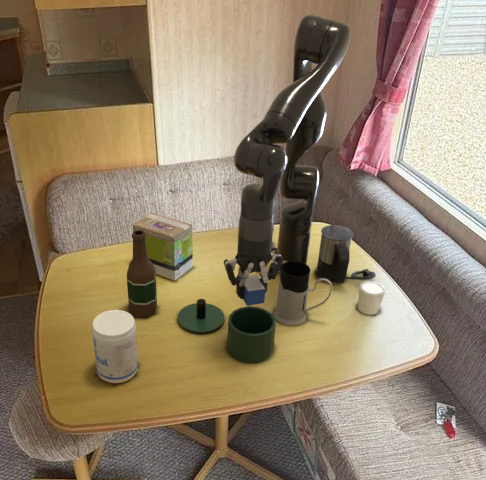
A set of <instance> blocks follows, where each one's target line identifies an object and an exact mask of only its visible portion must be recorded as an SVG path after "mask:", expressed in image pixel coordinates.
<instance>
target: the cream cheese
mask: <svg viewBox="0 0 486 480" xmlns="http://www.w3.org/2000/svg"><path fill="white" fill-rule="evenodd" d="M244 286H245V289H244V299H242V301H243V302H244V304H245V307H247V306H257V305H262V304H265V301H266V293H267V292H266V289H265V287H264V286H263V284H262V283H261V281H260V278H259V276H258V275H257V274H252V275H249V277H248V279H246V281H245V284H244ZM265 292H266V293H265Z"/></svg>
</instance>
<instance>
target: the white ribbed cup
mask: <svg viewBox="0 0 486 480" xmlns="http://www.w3.org/2000/svg"><path fill="white" fill-rule="evenodd" d="M358 288H359V289H358V297H357V298H358V300H357V309H358V311H359V312H361V313H362V314H364V315H369V316H372V315H373V316H374V315H376V314H378V313H379V310H380V308H381V305H382V302H383V298H384V296H385V293H386V287H385V286H384V285H383V284H381V283H380V282H377V281H373V280H365V281H362V282H361V283H359V287H358Z"/></svg>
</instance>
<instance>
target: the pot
mask: <svg viewBox="0 0 486 480" xmlns="http://www.w3.org/2000/svg"><path fill="white" fill-rule="evenodd" d="M227 322H228V323H227V340H226V346H227V351H228V352H229V353H228V354H230V356H231V357H233V358H234V359H236V360H238V361H240V362H243V363H251V364H252V363H253V364H254V363H255V364H256V363H261V362H263V361H266V360H268V359H269V358H270V357H271V356H272V354H273V352H274V346H275V336H276V325H277V320H276V319H275V317H274V313H272V312H270V311H269V310H267V309H265V308H263V307H260V306H253V305H250V306H242V307H238V308H236V309H234V310H233V311H232V312H231V313H230V314H229V315H228V321H227Z"/></svg>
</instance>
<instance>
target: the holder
mask: <svg viewBox="0 0 486 480" xmlns="http://www.w3.org/2000/svg"><path fill="white" fill-rule="evenodd" d="M310 275H311V267H310V266H309V265H308V264H307V265H306V264H305V263H302V262H299V261H289V262H285V263H284V264H282V266H281V272H280V274H279V277H278V285H277V297H276V304H275V309H274V311H273V316H274V317H275V319H276V322H279V323H280V324H283V325H286V326H299V325H302V324H303V323H305V322H306V320H307V312H308V311H310V310H313V309H316V308H318V307H320V306H322V305H324V304H325V303H326V302H327V301H328V300H329V298H330V297H331V295H332V290H333V283H331V282H330V281H329V280H327V279H324V278H321V279H319V278H318V279H317V280H316V281H315V282H314V286H313V288H310V285H309V284H310V277H311V276H310ZM322 280H324V281H326V282H325V283H328V284H329V286H330V290H329V293H328V295H327V296H326V298H325V299H324V300H323V301H321V302H320V303H318V304H315V305H313V306H309V308H307V303H308V295H309V292H314V291H315V290H316V288H317V284H319V282H321V281H322ZM324 281H323V282H324Z"/></svg>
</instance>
